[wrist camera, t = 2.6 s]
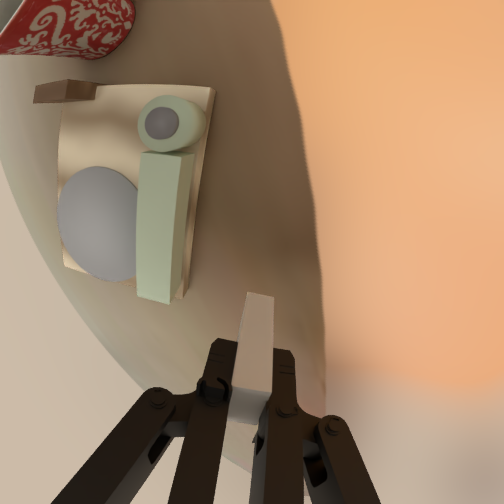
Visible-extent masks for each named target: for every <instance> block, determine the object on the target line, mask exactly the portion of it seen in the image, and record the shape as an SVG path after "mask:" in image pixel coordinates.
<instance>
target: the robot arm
mask: <svg viewBox="0 0 504 504" xmlns="http://www.w3.org/2000/svg"><path fill="white" fill-rule="evenodd" d="M273 325H274V297H271V296H266V295H261V294H256V293H251V292H247V296H246V300H245V305H244V309H243V314H242V318H241V323H240V327H239V333H238V338H237V342H235V341H230V340H225V339H221V338H217V339H216V340H215V341H214V342H213V343H212V344H211V348H210V351H209V355H208V358H207V362H206V366H205V369H204V373H203V376H202V378H200V379H199V381H198V382H197V388H196V390H195V391H194V392H192V393H189V394H183V395H173V394H172V393H171V392H169V391H168V390H167V389H164V388H161V387H153V388H150V389H148V390H146V391H145V392H144V393H143V394H142V395H141V397H140V398H139V399H138V400H137V401H136V402H135V404H134V405H133V406H132V407H131V409H130V410H129V411H128V412H127V413H126V415H125V416H124V417H123V418H122V419H121V421H120V422H119V423H118V424H117V425H116V427H115V428H114V429H113V430H112V432H111V433H110V434H109V435H108V436H107V437H106V439H105V440H104V441H103V442H102V443H101V445H100V446H99V447H98V448H97V449H96V451H95V452H94V453H93V454H92V455H91V457H90V458H89V459H88V460H87V461H86V462H85V464H84V465H83V466H82V467H81V468H80V470H79V471H78V472H77V473H76V474H75V475H74V477H73V478H72V479H71V480H70V482H69V483H68V484H67V485H66V486H65V487H64V489H63V490H62V491H61V492H60V493H59V494H58V496H57V497H56V498H55V499H54V500H53V501H52V503H51V504H130V502H131V501H132V499H133V498H134V497H135V495H136V494H137V492H138V491H139V489H140V488H141V487H142V485H143V484H144V482H145V481H146V479H147V478H148V476H149V475H150V473H151V472H152V470H153V469H154V467H155V466H156V464H157V463H158V461H159V460H160V458H161V457H162V455H163V454H164V452H165V451H166V449H167V448H168V446H169V445H170V443H171V442H172V440H173V439H174V437H185V438H184V441H183V445H182V449H181V453H180V457H179V460H178V464H177V468H176V472H175V476H174V480H173V484H172V488H171V492H170V496H169V500H168V504H213V501H214V495H215V489H216V483H217V477H218V471H219V464H220V459H221V453H222V447H223V441H224V435H225V428H226V422H227V420H228V421H234V422H239V423H246V424H252V425H257V424H258V421H259V425H258V431H257V433H256V435H255V437H254V438H253V441H252V443H255V447H254V457H253V468H252V479H251V488H250V498H249V504H304V479H305V482H306V485H307V489H308V492H309V495H310V498H311V502H312V504H381V503H380V500H379V498H378V495H377V493H376V490H375V488H374V486H373V483H372V481H371V479H370V476H369V474H368V472H367V469H366V467H365V465H364V462H363V460H362V457H361V455H360V453H359V450H358V448H357V446H356V443H355V441H354V439H353V436H352V434H351V432H350V430H349V427H348V425H347V424H346V422H345V421H344V420H343V419H342V418H341V417H338V416H335V415H327V416H325V417H323V418H322V419H321V418H318V417H315V416H312V415H310V414H308V413H306V412H304V411H303V410H302V409H301V408H300V407H299V405H298V403H297V397H296V376H295V359H294V357H293V355H292V353H291V352H290V351H289V350H283V349H277V348H273Z"/></svg>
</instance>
